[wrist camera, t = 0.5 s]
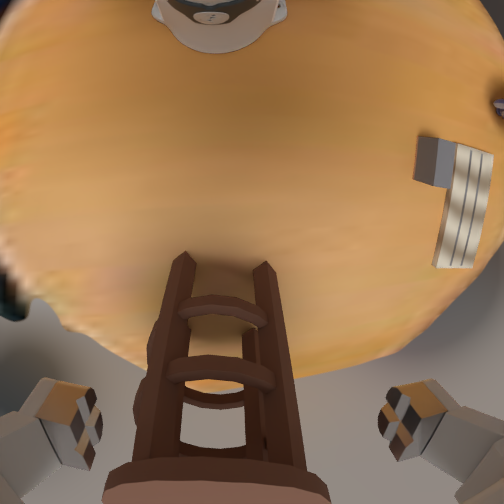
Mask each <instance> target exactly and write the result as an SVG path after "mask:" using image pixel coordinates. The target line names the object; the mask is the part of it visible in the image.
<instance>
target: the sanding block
mask: <svg viewBox="0 0 504 504" xmlns="http://www.w3.org/2000/svg"><path fill="white" fill-rule="evenodd" d="M455 147H456V143H454V142H450V141H447V140H443V139H440V138H431V137H420V136H417V144H416V154H415V163H414V172H413V179H414V180H417V181H420V182H423V183H426V184H429V185H432V186H436V187H442V188H447V189H451V182H452V174H453V166H454V157H455Z"/></svg>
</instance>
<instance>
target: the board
mask: <svg viewBox="0 0 504 504" xmlns="http://www.w3.org/2000/svg"><path fill="white" fill-rule="evenodd" d="M493 158H494V155H492V154H489V153H486V152H483V151H480V150H477V149H474V148H471V147H468V146H465V145H462V144H458V143H456V147H455V157H454V166H453V174H452V182H451V189H447V193H446V199H445V205H444V210H443V216H442V221H441V226H440V231H439V236H438V240H437V245H436V249H435V253H434V257H433V261H432V265H433V266H434V267H435V268H472V267H473V263H474V260H475V256H476V252H477V248H478V244H479V240H480V236H481V231H482V227H483V222H484V217H485V212H486V207H487V201H488V195H489V189H490V182H491V175H492V167H493Z"/></svg>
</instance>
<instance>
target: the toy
mask: <svg viewBox="0 0 504 504" xmlns="http://www.w3.org/2000/svg"><path fill="white" fill-rule="evenodd" d="M493 104H494V106H495V107H497V109H496V112H497V114H498V115H499V116H502V117H503V119H504V99H497V100H496V101H494V103H493Z"/></svg>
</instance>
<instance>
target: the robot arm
mask: <svg viewBox="0 0 504 504" xmlns="http://www.w3.org/2000/svg"><path fill="white" fill-rule="evenodd" d="M278 6H280V8H277V7H278ZM152 16H153V18H154V19H156V20H157V21H159V22H161V23H163V24H165V25H166V26H167V27H168V28H169V29H170V30H171V32H172V33H173V35H174V36H175V37H176V38H177V39H178V40H179V41H180V42H181V43H182V44H184V45H185V46H187V47H189V48H191V49H194V50H196V51H200V52H204V53H215V54H216V53H227V52H232V51H236V50H239V49H241V48H244V47H246V46H248V45H249V44H251V43H253V42H254V41H255V40H256V39H258V38H259V37H260V36H261V35H262V34H263V32H264V31H265V30H266V29H267V28H269V27H270V26H272V25H275V24H277V23H279V22H281V21H283V20H284V19H285V18H286V17H287V8H286V3H285V0H155V3H154V6H153V8H152ZM96 400H97V397H96V394H95V391H94V389H92V388H91V387H86V386H81V385H77V384H72V383H67V382H63V381H57V380H53V379H49V378H43V379H41V380H40V381H39V383H38V384H37V385H36V387H35V388H34V390H33V391H32V393H31V394H30V395H29V397H28V398H27V400H26V401H25V403H24V404H23V406H22V407H21V409H20V411H19V412H15V411H13V412H11V413H8V414H6V415H4V416H2V417H0V504H24V502H23V501H22V500H21V499H20V498H22V497H23V496H24V495H26V494H27V493H28V492H30V491H31V490H32V489H33V488H35V487H36V486H37V485H39V484H40V483H41V482H43V481H44V480H45V479H46V478H48V477H49V476H50V475H51V474H52V473H54V472H55V471H57V470H58V469H59V468H60V467H62V465H66V466H70V467H74V468H78V469H82V470H87V471H90V469H91V466H92V463H93V460H94V457H95V451H94V448H93V446H94V445H96V444H97V443H99V442H100V439H101V436H102V429H103V421H102V415H101V412H100V410H99V409H98V408H97V407H96V406H95V403H96ZM386 400H387V402H388V403H387V404H386V405H384V407H382V408H381V410H380V413H379V416H378V428H379V431H380V433H381V434H382V437H383V438H385V439H387V440H389V441H390V444H389V448H390V450H391V452H392V453H393V455H394V457H395V458H396V460H397V462H399V461H403V460H406V459H410V458H414V457H417V456H420V455H421V457H422V458H423V459H425V460H426V461H428V462H429V463H431V464H433V465H434V466H436V467H437V468H439V469H440V470H442V471H444V472H445V473H447V474H449V475H450V476H452V477H454V478H455V479H457V480H459V481H460V482H462V483H463V485H462V486H461V487H460V488H459V489H458V491H457V492H456V493H455V498H456V500H457V501H458V503H459V504H504V421H503V420H500V419H497V418H495V417H492V416H490V415H487V414H484V413H481V412H479V411H476V410H474V409H471V408H468V407H466V406H463V407H461V406H460V405H459V404H458V403H457V402H456V401H455V400H454V399H453V398H452V397H451V396H450V395H449V394H448V392H447V391H446V390H445V389H444V388H443V387H442V386H441V385H440V384H439V383H438V382H437V381H436V380H434V379H427V380H423V381H419V382H415V383H411V384H405V385H400V386H395V387H391V388H390V390H389V391H388V393H387V395H386ZM61 464H62V465H61Z"/></svg>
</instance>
